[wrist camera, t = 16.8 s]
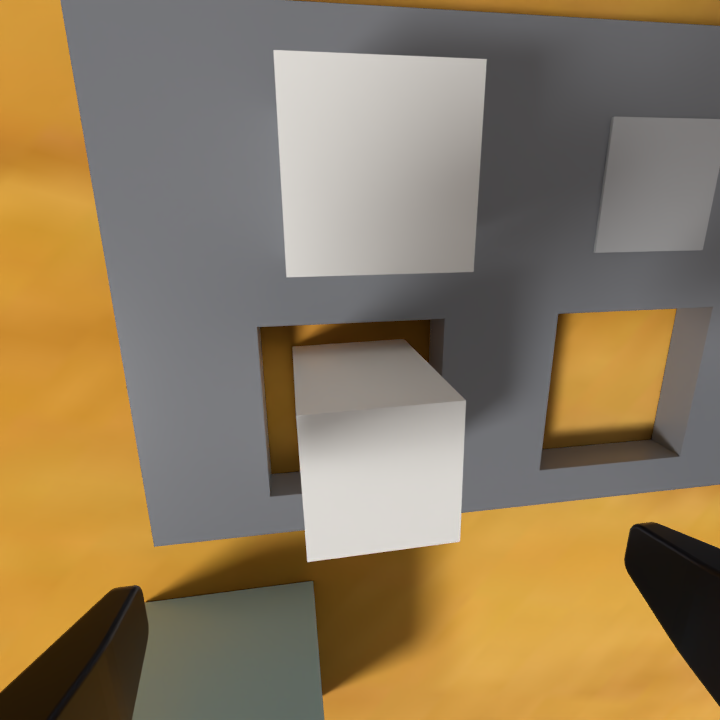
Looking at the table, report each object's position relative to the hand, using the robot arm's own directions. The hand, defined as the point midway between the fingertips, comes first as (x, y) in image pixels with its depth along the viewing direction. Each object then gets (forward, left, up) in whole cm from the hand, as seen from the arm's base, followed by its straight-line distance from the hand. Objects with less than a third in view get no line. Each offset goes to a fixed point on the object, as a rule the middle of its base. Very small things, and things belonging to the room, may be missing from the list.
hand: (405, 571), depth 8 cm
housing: (+5, +12, -9) cm, 15 cm away
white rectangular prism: (0, 0, -9) cm, 9 cm away
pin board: (-5, -3, -9) cm, 11 cm away
